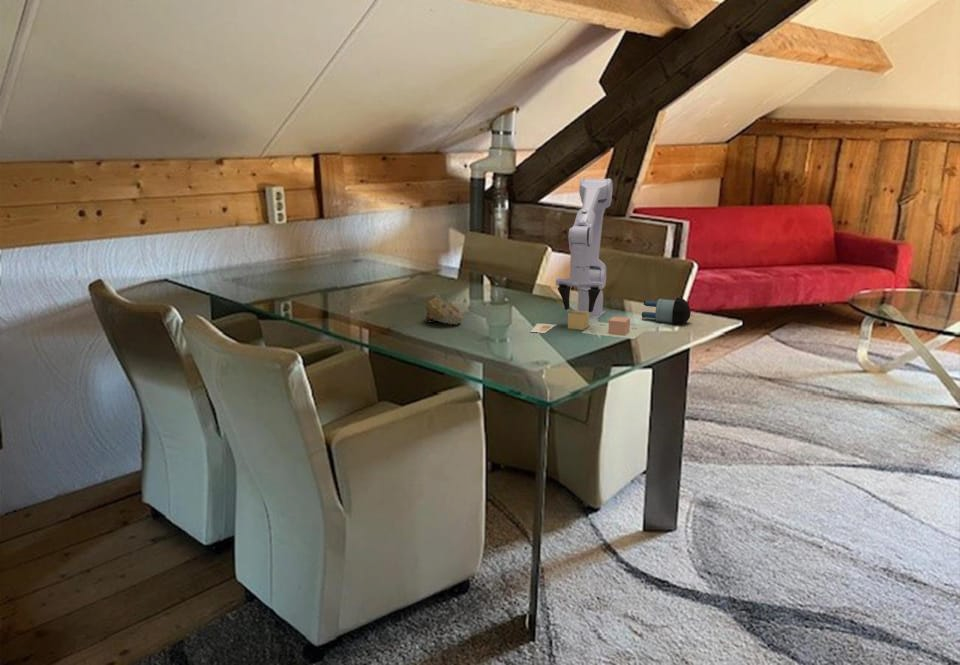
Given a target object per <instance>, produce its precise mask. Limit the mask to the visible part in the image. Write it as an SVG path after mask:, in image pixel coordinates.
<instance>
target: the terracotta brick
mask: <svg viewBox="0 0 960 665" xmlns="http://www.w3.org/2000/svg"><path fill="white" fill-rule="evenodd" d="M608 323H609V329H608V333H609V334H617V335H626V334H627V333H628V332H629V331H630V325H631V317H622V316H621V317H620V316H613V317H611V318H610V319H609V320H608Z"/></svg>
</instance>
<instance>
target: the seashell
mask: <svg viewBox="0 0 960 665" xmlns="http://www.w3.org/2000/svg"><path fill="white" fill-rule="evenodd" d="M434 296H435V297H434V298H432V299H431V300H427V301H426V302H427V305H426V306H425V309H426V317H425V323H426V322H429V321H434V322H437V321H438V322H439V323H443V324H447V323H448V324H447V325H452V324H456V325H457V324H458V323H460V324H461V322H462V320H463V318H464V317H463V314H462V313H461V311H460V309H459V308H458V307H457V306H456V305H455V304H453V302H451V301H448V302H446V301H445V300H444V299H442V296H441V295H439V294H438V293H437V294H434ZM429 323H430V322H429ZM458 325H459V324H458Z"/></svg>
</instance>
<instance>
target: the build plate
mask: <svg viewBox="0 0 960 665" xmlns="http://www.w3.org/2000/svg"><path fill="white" fill-rule="evenodd" d="M647 328H648V327H647V326H639V325H631V324H630V331H629V332H628V333H627V334H626V335H617V334H609V333H608V329H609V322H602V321H595V322H594V323H592V324H591V325H589V326H588V327H587V328H585V329H584V330H583V331H582V332H581V334H588V335H598V336H605V337H606V336H607V337H615V338H622V339H631V340H635V339H636V338H637V337H638V336H639V335H640V334H642V333H643V332H644V331H645V330H646V329H647Z"/></svg>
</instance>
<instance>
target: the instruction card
mask: <svg viewBox="0 0 960 665" xmlns="http://www.w3.org/2000/svg"><path fill="white" fill-rule="evenodd" d="M556 326H557V324H552V323H551V324H549V323H536V324H535V325H534V326H533V328H532V329H531V330H530V331H529V332H537V333H536V334H546V332H548V331H550V330H551V329H553V328H554V327H556Z"/></svg>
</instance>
